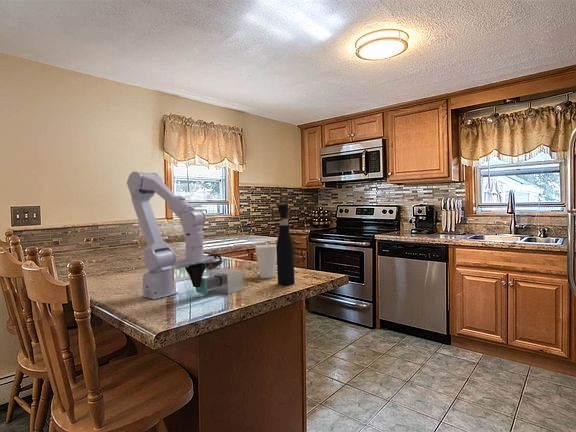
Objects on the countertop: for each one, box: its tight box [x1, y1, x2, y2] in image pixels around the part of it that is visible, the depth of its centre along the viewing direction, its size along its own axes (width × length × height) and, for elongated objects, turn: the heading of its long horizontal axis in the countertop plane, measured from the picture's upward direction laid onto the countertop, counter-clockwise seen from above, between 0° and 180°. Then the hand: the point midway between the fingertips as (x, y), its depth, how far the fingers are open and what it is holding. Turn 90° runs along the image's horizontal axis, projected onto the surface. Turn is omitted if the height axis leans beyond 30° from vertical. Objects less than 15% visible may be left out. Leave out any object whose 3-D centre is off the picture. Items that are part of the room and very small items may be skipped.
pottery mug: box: [204, 252, 224, 271], centre depth 169 cm, size 12×10×8 cm
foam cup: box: [254, 243, 277, 279], centre depth 145 cm, size 10×9×13 cm
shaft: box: [195, 276, 222, 295], centre depth 120 cm, size 9×5×5 cm, turn 141°
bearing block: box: [208, 267, 244, 295], centre depth 125 cm, size 7×10×7 cm
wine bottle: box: [275, 204, 295, 287], centre depth 131 cm, size 6×6×30 cm
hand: (196, 286), depth 115 cm, fingers closed
